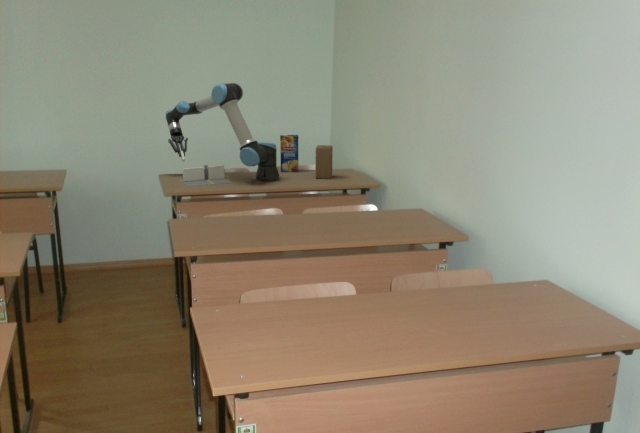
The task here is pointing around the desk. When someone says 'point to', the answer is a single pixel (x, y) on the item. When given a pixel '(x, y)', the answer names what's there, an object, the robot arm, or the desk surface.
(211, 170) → the fence
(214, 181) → the card
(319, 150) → the wooden block
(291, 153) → the juice carton
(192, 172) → the hinged panel
